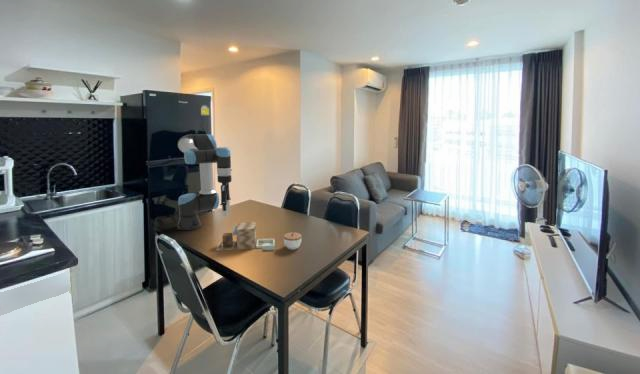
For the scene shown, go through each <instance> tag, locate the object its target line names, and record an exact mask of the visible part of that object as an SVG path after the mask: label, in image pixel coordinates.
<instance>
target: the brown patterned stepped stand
mask: <svg viewBox="0 0 640 374" xmlns="http://www.w3.org/2000/svg"><path fill="white" fill-rule="evenodd" d="M256 223H257V222H256V221H252V222H251V221H250V222H238V223H237V225H236V226H237V229H236V231H237V235H236V241H235V240H233V245H232V247H224V248H223V241H219V242H218V244H217V246H216V249H215V251H230V250H231V251H232V250H250V249H252V250H253V249H254V250H255V249H256V244H257V233H256V232H257V230H256V229H257V228H256V227H257V226H256Z"/></svg>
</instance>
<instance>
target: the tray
mask: <svg viewBox="0 0 640 374" xmlns="http://www.w3.org/2000/svg"><path fill="white" fill-rule="evenodd" d="M275 242H276V241H275V238H258V239H257V238H256V245H255V249H261V251H275V246H276V245H275ZM259 243H262V245H259Z"/></svg>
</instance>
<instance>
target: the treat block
mask: <svg viewBox="0 0 640 374" xmlns="http://www.w3.org/2000/svg"><path fill="white" fill-rule="evenodd" d="M233 237H234V235H233V232H223V234H222V242H223V248H224V247H232V245H233V241H234V240H233Z"/></svg>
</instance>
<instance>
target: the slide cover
mask: <svg viewBox="0 0 640 374" xmlns="http://www.w3.org/2000/svg"><path fill="white" fill-rule="evenodd" d="M237 226H238V225H234V227H233V229H232V235H233V236H237V231H236V229H237Z"/></svg>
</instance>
